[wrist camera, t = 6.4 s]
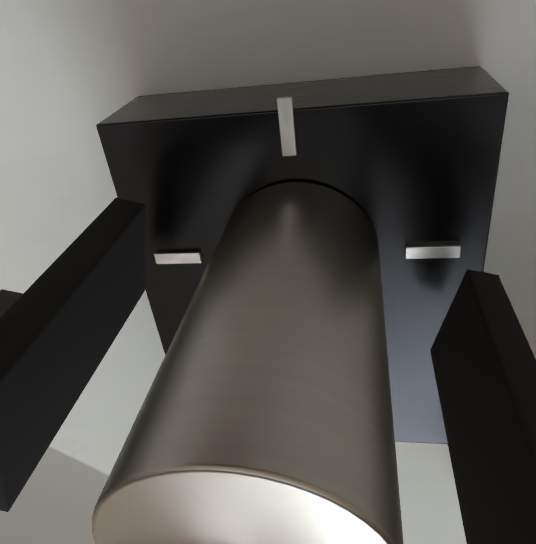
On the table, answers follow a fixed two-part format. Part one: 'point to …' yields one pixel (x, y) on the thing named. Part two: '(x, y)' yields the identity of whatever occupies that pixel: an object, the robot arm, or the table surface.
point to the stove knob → (269, 392)
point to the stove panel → (332, 174)
